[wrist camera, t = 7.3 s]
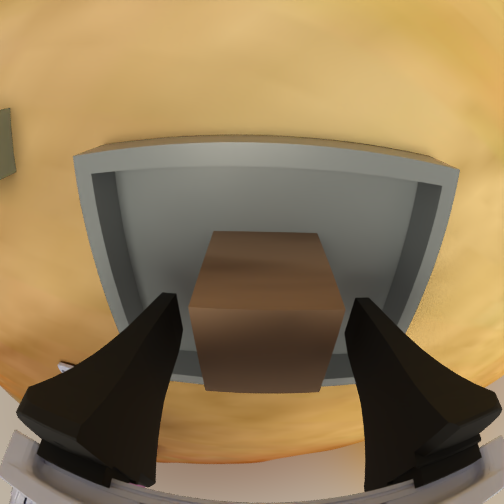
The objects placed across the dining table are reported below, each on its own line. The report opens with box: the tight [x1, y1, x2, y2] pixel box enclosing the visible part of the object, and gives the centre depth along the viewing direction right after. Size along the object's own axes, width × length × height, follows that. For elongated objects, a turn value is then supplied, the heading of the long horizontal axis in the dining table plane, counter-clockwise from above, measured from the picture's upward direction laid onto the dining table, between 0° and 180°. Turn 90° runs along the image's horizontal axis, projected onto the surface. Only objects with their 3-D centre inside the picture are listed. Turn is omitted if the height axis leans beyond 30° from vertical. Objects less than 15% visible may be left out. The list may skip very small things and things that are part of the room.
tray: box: [73, 135, 460, 386], centre depth 13 cm, size 13×15×2 cm
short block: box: [188, 231, 346, 393], centre depth 11 cm, size 4×4×5 cm
